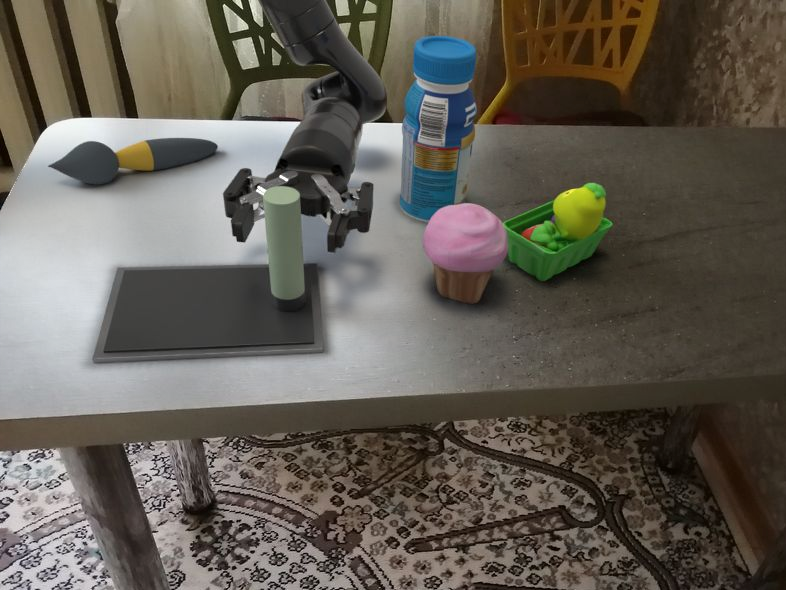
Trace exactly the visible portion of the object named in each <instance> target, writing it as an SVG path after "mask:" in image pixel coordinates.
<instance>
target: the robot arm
mask: <svg viewBox="0 0 786 590" xmlns="http://www.w3.org/2000/svg"><path fill="white" fill-rule="evenodd" d="M257 1H258V3H259V6H260V7H261V9H262V12H263V13H264V15H265V16H266V19H267V20H268V23H270V24H269V25H270V26H271V27H272V29H273V32H274V33H275V35H276V37H277V38H278V40H279V42H280V44H281V46H282V47H283V50H284V51H285V53H286V54H287V56H288V58H289V59H290V60H291V62H292V63H294V64H295V65H297V66H301V67H306V66H307V67H309V66H318V65H325V66H329V67H331V68H332V69H334V70H335V71H334V72H331V73H329V74H326V75H323V76H321V77H318V78H316V79H314V80H312V81H310V82H309V83H308V84H307V85H305V87H304V88H303V89H302V91H301V95H300V97H301V98H300V99H301V106H302V119H301V120H300V122H299V124H298V125H297V126H296V128H294V129H293V131H292V133H291V134H290V137H289V139H288V140H287V143H286V145H285V147H284V148H283V151H282V152H281V154H280V156H279V158H278V160H277V163H276V165H275V167H274V171H273V172H271V173H270V174H268V175H266V177H261V176H253V171H252V169H251V168H249V167H243V168H240V169H239V170H238V172H237V173H236V175H235V176H234V177H233V179H232V180H231V181H230V183H229V184H228V185H227V187H226V188H225V190H223V192H222V197H223V206H224V212H225V217H226V218H228V219H231V220H230V227H231V234H232V237H235V240H236V243H243V244H244V243H246V242H247V240H248V238H249V235H250V234H251V232H252V230H253V228H254V226H255V223H256V222H258V221H261V220H262V219H265V213H264V202H263V194H264V192H265V191H266V190H267V189H269V188H272V187H277V186H285V187H291V188H294V189H296V190H297V191H298V192H299V194H300V206H301V216H307V217H313V218H316V217H317V216H319V218H320V219H322V221H323V222H324V223H325V224H326V225H327V226H328V227H329V228H328V230H327V233H326V234H327V235H326V245H327V246H326V247H327V248H326V250H327V253H332V254H336V252H337V249H342V248H343V247H344V246H345V244H346V241H347V239H348V238H347V237H348V235H349V234H350V233H351V231H353V230H356V231H357V232H358V233H360V234H366V233H368V232H370V229H371V228H370V227H371V221H372V215H373V210H374V209H373V208H374V183H372V182H371V181H364V182H362V183H361V186H360V187H348V185H349V181H350V180H351V176H352V174H353V173H354V170H355V167H356V160H357V155H358V154H357V153H358V149H359V146H360V143H361V141H362V136H363V131H364V130H363V129H364V125H366V124H369V123H371V122H374V121H376V120H378V119H380V118H381V117H382V116H383V115H384V114H385V112H386V110H387V106H388V93H387V89H386V87H385V84H384V82H383V80H382V78H381V77H380V75H379V74H378V72H377V71H376V70H375V69H374V68H373V66H372V65H371V64H370V62H368V60H366V58H365V57H364V56H363V55H362V54H361V53H360V52H359V51H358V50H357V48H356V47H355V46H354V45H353V44H352V42H351V41H350V39H349V38H348V36H346V34H345V33H344V31H343V30H342V29H341V27H340V26H339V23H338V22H337V20H336V18H335V16H334V14H333V12H332V9H331V7H330V5H329V4H328V2H327V0H257ZM348 201H350V202H352V205H354V206H355V209H354V210H353V209H352V210H351V208H350V207H349V206H348V205H347V204H346V203H347V202H348ZM255 204H258V207H256V208H255V209H254V205H255Z"/></svg>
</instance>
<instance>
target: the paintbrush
mask: <svg viewBox="0 0 786 590" xmlns="http://www.w3.org/2000/svg"><path fill="white" fill-rule="evenodd" d="M218 148H219V145H218V143H216V142H214V141H212V140H208V139H203V138H194V137H165V138H163V137H162V138H153V139H145V140H142V141H139V142H136V143H134V144H131V145H128V146H125V147H124V148H121V149H119V150H117V151H114V150H113V149H111V147H109V146H108V145H107V144H104V143H102V142H99V141H95V140H93V141H92V140H87V141H83V142H82V143H80V144H78V145H77V146H75V147H74V148H73V149H71V150H70V151H69V152H68V153H66V154H65V155H63V156H62V158H60V159H59V160H56V161H55V162H53V163H51V164H49V165H47V167H48V168H51V169H53V170H55V171H57V172H59V173H61V174H63V175H66V176H68V177H70V178H72V179H74V180H77V181H79V182H83V183H86V184H89V185H94V186H95V185H96V186H97V185H99V186H101V185H105V184H108V183H109V182H111V181H112V180H113V179H114V178H115V177H116V176H117V175H118V173H119V169H125V170H131V171H133V170H134V171H144V172H145V171H146V172H152V171H153V172H154V171H160V170H166V169H171V168H176V167H181V166H183V165H187V164H190V163H193V162H197V161H200V160H203V159H205V158H207V157H209V156H211V155H212V154H214V153H216V152H217V150H218Z"/></svg>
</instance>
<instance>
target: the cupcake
mask: <svg viewBox="0 0 786 590" xmlns="http://www.w3.org/2000/svg"><path fill="white" fill-rule="evenodd" d="M422 248H423V250H424V252H425V254H426V256H427V257H428V259H429V260H430V261H431V262H432V265H433V270H434V276H435V277H434V278H435V283H436V289H437V292H438V293H439V294H440V295H441V296H442V297H445V298H448V299H451V300H453V301H457V302H461V303H464V304H471V305H473V304H477V303H478V302H479V301H480V300H481V298H482V295H483V294H484V291H485V290H486V287H487V284H488V282H489V280H490V278H491V277H492V275H493V272H494V270H496V269H497V268H498V267H499V266H500V265H501V263H502V262H503V261H504V259H505V258H506V256H507V254H508V242H507V232H506V229H505V228H504V225H503V221H502V220H501V219H500V217H498V216H497V215H495V214H494V213H493V212H492V211H490V210H489V209H487V208H486V207H483V206H482V205H480V204H476V203H471V202H466V203H463V204H458V205H449V206H445V207H443V208H441V209H439V210H438V211H437V212H436V213H435V214H434V215H433V216H432V217H431V219H430V221H429V222H427V225H426V227H425V229H424V234H423V238H422Z"/></svg>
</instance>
